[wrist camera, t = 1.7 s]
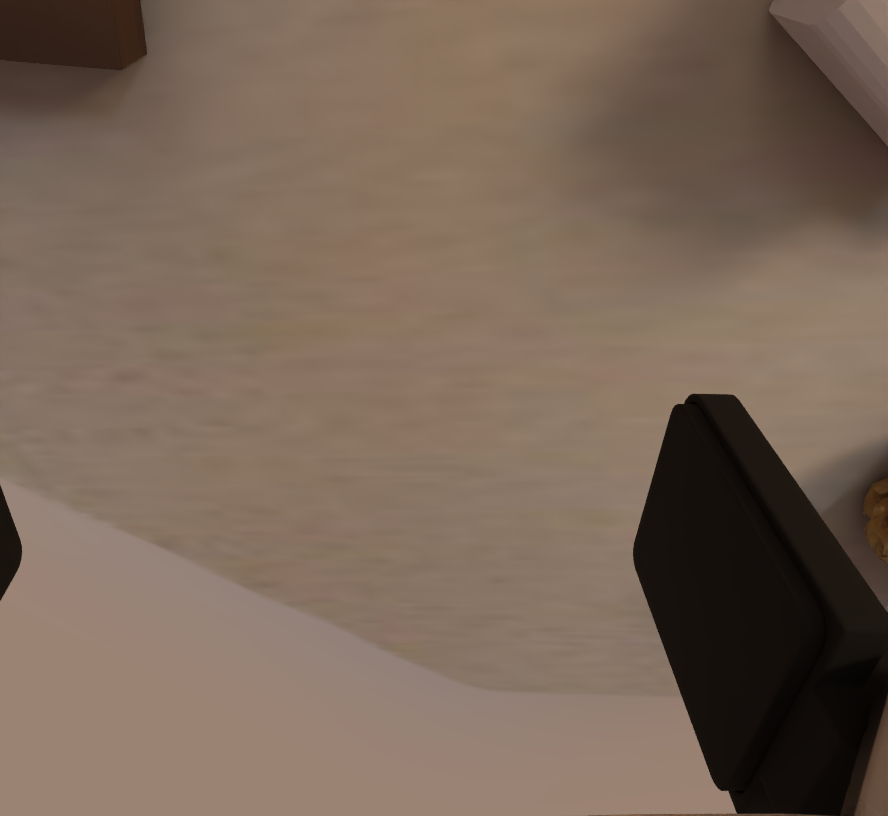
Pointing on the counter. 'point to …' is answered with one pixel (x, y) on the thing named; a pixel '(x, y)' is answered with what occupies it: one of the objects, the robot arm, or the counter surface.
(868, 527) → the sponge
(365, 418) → the counter surface
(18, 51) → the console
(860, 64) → the charger
